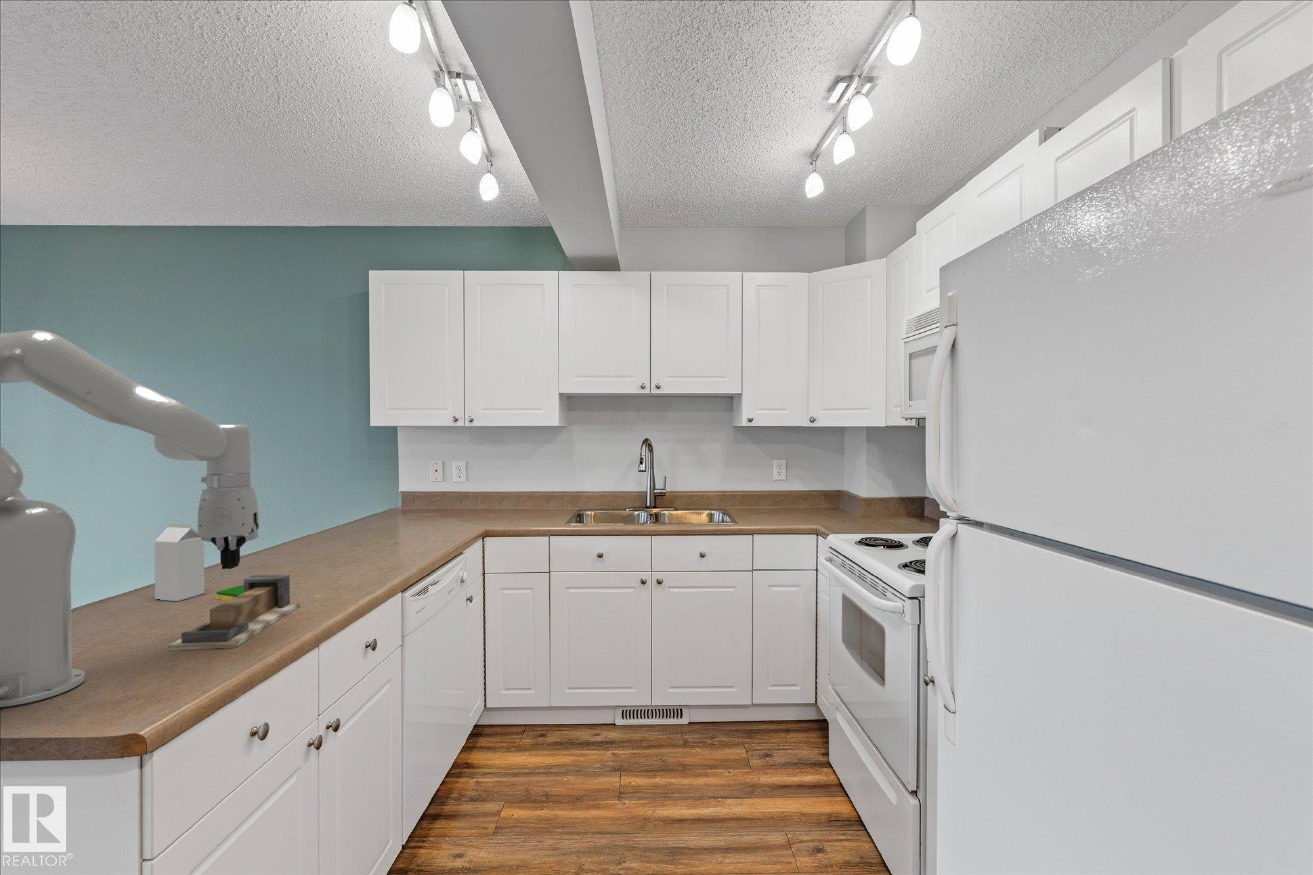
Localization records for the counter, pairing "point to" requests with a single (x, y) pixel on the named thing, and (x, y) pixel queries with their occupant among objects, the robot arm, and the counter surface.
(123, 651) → the counter surface
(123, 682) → the counter surface
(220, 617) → the walnut slat
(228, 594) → the dish sponge
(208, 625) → the end cap board
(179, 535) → the milk carton
